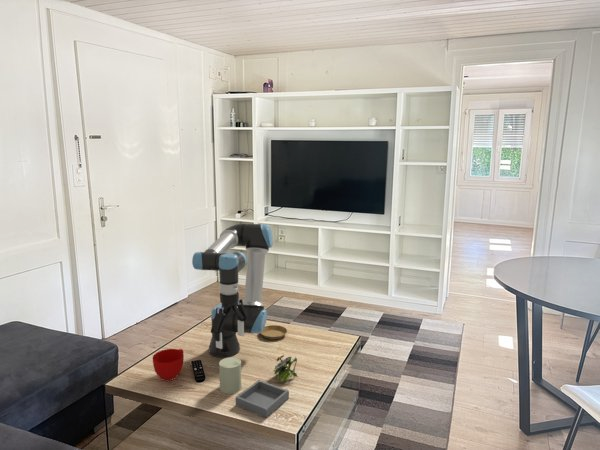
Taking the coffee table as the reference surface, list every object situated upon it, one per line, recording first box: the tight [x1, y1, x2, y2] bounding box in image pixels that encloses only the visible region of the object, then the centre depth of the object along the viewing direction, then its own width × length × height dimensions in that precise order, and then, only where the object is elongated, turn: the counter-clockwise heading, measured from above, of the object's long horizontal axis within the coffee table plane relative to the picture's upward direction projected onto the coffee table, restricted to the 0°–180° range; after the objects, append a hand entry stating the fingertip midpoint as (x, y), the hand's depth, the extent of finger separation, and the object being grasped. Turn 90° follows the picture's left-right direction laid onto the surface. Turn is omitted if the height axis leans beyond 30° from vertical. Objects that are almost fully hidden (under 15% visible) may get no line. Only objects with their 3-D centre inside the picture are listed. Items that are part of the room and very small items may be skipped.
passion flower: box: [273, 354, 298, 383], centre depth 190 cm, size 11×11×12 cm
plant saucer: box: [260, 324, 288, 340], centre depth 233 cm, size 15×15×3 cm
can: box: [218, 356, 243, 395], centre depth 181 cm, size 9×9×12 cm
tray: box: [235, 379, 290, 419], centre depth 172 cm, size 15×15×4 cm
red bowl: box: [152, 348, 185, 381], centre depth 191 cm, size 13×17×10 cm
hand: (230, 341), depth 178 cm, fingers open, 13 cm apart
